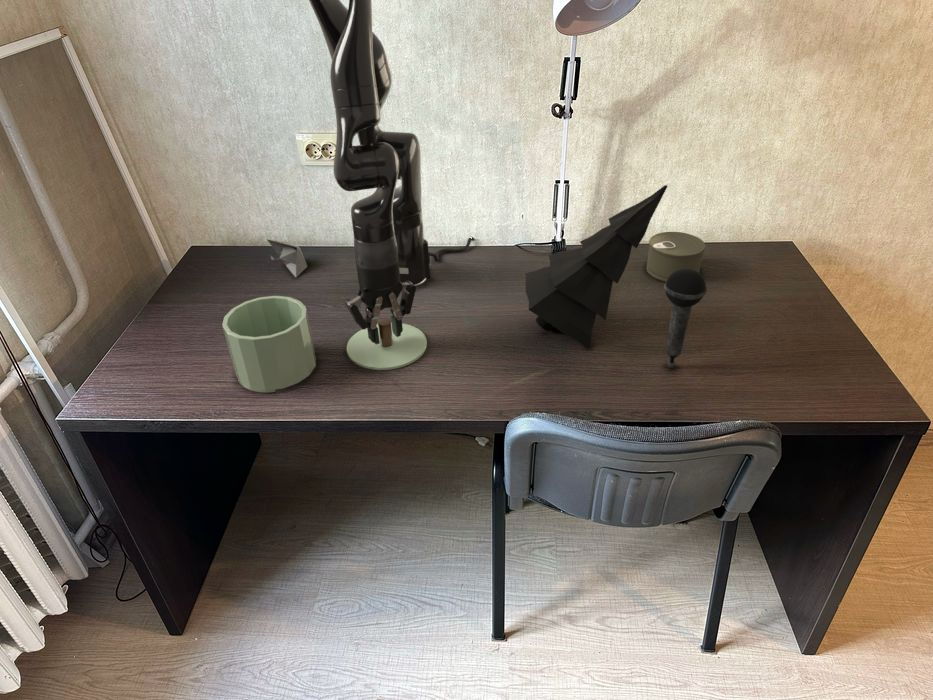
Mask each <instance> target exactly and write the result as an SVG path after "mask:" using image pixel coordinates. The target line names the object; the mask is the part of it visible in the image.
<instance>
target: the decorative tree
mask: <svg viewBox="0 0 933 700" xmlns="http://www.w3.org/2000/svg"><path fill="white" fill-rule="evenodd" d="M667 188H668V185H667V184H665V185H663V186H662V187H660V188H659V189H658V190H656V191H655V192H654V193H653V194H651V195H650V196H648V197H647V198H644V199H643V200H641V201H639V202H638V203H636V204H634V205H632V206H629V207H628V208H625V209H623V210H621V211H619V212H618V213H616V214H614V215H613V216H611V217H609V218H608V222H609V225H607V226H605V227H603V228H601V229H599V230H598V231H597V232H595V233H594V234H592V235H591V236H588V237H587V238H584V239H582V240H580V241H579V243H580V245H581V247H578V248H573V249H567V250H560V251H557V252H555V253H552V254H550V255H548V258H549V265H550V266H544V267H541V268H539V269H536V270H532V271H528V272H525V294H526V297H527V300H528V311H530V312H531V313H532V314H534V315H536V316H537V317H536V318H535V322H536V324H537V325H538V327H540V328H541V329H542V330H544V331H547V332H549V331H551V330H552V329H553V328H555V329H557V330H558V331H560V332H562V333H563V334H564V335H566V336H568V337H569V338H570V339H573V340H574V341H576V342H577V343H578V344H580V345H582V346H584V347H586V348H588V349H590V344H591V337H592V333H593V328H594V324H595V322H596V317H597V316H599V317H600V318H601V319H603V320H604V321H606V320H607V314H608V310H609V303H610V299H611V294H612V290H613V289H612V288H613V283H615V284H618V283H619V282H620V280H621V278H622V276H623V274H624V272H625V271H626V267H627V265H628V262H629V260H630V257H631V253H632V248H635V249H637V248H638V247H639V245H640V243H641V242H642V240H643V238H644V236H645V235H646V233H647V230H648V227H649V225H650V223H651V220H652V217H654V214H655V212H656V210H657V208H658V206H659V204H660V202H661V200H662V198H663V196H664V194H665V193H666V191H667Z"/></svg>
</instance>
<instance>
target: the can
mask: <svg viewBox="0 0 933 700" xmlns="http://www.w3.org/2000/svg"><path fill="white" fill-rule="evenodd" d="M648 245H649V246H648V254H647V260H646V272H647V273H648V274H649V276H651V277H652V278H654V279H656V280H658V281H662V282H666V281H667V279H668V277H669V276H670V275H671V274H672V273H673V272H675V271H676V270H679V269H682V268H689V269H693V270H696V271H697V272H699V273H700V270H701V267H702V261H703V256H704V252H705V250H706V243H705V242H704V241H703V239H701V238H700V237H698V236H697V235H693V234H691V233H686V232H683V231H662V232H659V233H656V234H654V235H652V236H651V237H650V238H649V240H648Z"/></svg>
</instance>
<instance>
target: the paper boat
mask: <svg viewBox="0 0 933 700" xmlns="http://www.w3.org/2000/svg"><path fill="white" fill-rule="evenodd" d="M266 241H267V242H268V243H269V245H270V246H271V247H272V249H273V250H274V252H275V253H276V254H277V256H278V257H277V260H281V261H282V263H283V264H284V265H285V266H286V268H287V269H288V270H289V271H290V273H291V274H292V275H293V276H294V278H297V277H299V276H300V275H301V273H303V272H304V271H305V270H306V269H307V268H308V264H307V262H306V259H305V257H304V254H303V252H302V249H301V247H300V246H297V245H295V244H292V243H289V242H284V241H278V240H273V239H266ZM270 259H271V261H274V260H275V261H276V258H275V257H273V256H272V255H270Z"/></svg>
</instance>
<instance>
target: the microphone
mask: <svg viewBox="0 0 933 700" xmlns="http://www.w3.org/2000/svg"><path fill="white" fill-rule="evenodd" d="M663 288H664V292H665V295H666V297H667V300H668V301H670V302H671V303H672V305H671V310H670V318H669V326H668V333H667V341H666V347H665V353H666V354H667V355H668V357H669V361H668V362H667V365H666V366H667V368H668V369H674V368H675V367H676V363H675V358H678V357H679V356H681V354H682V351H683V346H684V341H685V337H686V335H687V334H686V333H687V329H688V324H689V320H690V318H691V317H690V316H691V311H692V307H694V306H695V305H696V304H698V303H700V301H701V300H703V298H704V296H705V295H706V293H707V284H706V281H705V278H704V277H703V275H702V274H701V273H700V272H697V271H696V270H693V269H689V268H682V269H679V270H676V271H675V272H673V273H672V274H671V275H670V276H669V277H668V279H667V281H664V285H663Z"/></svg>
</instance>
